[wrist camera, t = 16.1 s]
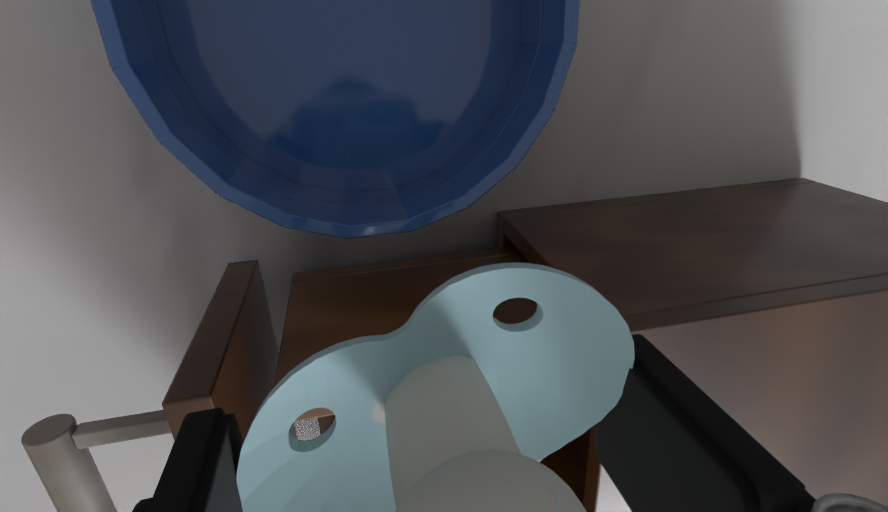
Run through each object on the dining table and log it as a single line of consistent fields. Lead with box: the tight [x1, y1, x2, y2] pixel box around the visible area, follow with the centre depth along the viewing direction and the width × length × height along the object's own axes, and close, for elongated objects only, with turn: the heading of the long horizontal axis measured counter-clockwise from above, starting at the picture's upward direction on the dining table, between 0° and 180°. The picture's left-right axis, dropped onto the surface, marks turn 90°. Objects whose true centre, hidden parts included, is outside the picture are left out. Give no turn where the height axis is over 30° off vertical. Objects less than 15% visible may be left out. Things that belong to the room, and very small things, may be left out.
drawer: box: [21, 246, 591, 512], centre depth 20 cm, size 21×12×9 cm, turn 92°
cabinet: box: [498, 178, 888, 512], centre depth 22 cm, size 17×14×11 cm
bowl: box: [91, 0, 579, 238], centre depth 16 cm, size 14×14×4 cm
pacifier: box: [236, 263, 635, 512], centre depth 8 cm, size 7×6×6 cm
